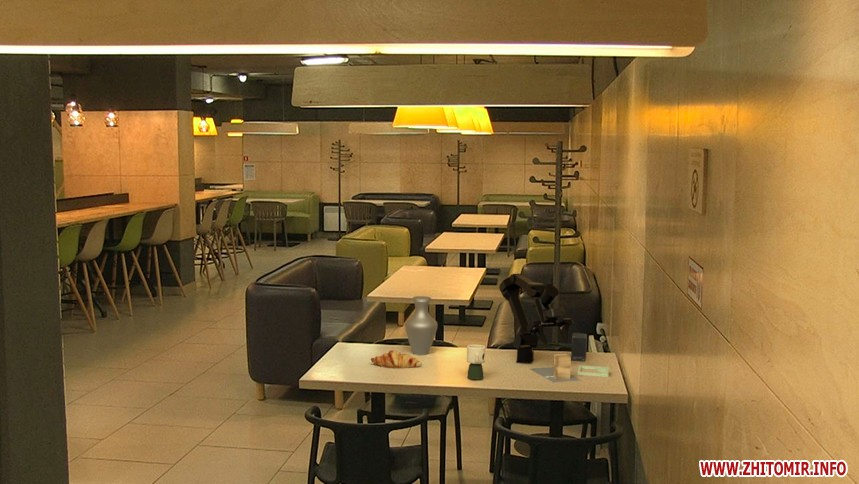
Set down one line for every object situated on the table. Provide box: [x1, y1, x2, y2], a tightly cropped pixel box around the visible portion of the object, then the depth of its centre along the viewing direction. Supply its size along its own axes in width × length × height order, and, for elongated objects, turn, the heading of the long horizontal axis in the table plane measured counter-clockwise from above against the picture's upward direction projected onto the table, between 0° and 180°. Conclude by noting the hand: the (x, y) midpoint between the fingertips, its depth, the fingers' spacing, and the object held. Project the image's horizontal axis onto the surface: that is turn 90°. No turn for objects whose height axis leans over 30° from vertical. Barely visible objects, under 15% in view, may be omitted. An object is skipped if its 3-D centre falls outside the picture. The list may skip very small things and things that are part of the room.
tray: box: [577, 364, 610, 378], centre depth 338 cm, size 12×12×2 cm
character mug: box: [466, 344, 486, 381], centre depth 329 cm, size 11×7×13 cm, turn 1°
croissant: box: [370, 349, 423, 369], centre depth 347 cm, size 21×10×8 cm, turn 86°
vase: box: [404, 295, 438, 356], centre depth 370 cm, size 14×14×25 cm
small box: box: [570, 332, 588, 362], centre depth 368 cm, size 11×6×10 cm, turn 168°
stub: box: [553, 353, 572, 380], centre depth 327 cm, size 4×5×9 cm
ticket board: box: [529, 366, 582, 383], centre depth 333 cm, size 22×12×2 cm, turn 19°
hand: (556, 343), depth 334 cm, fingers open, 9 cm apart
